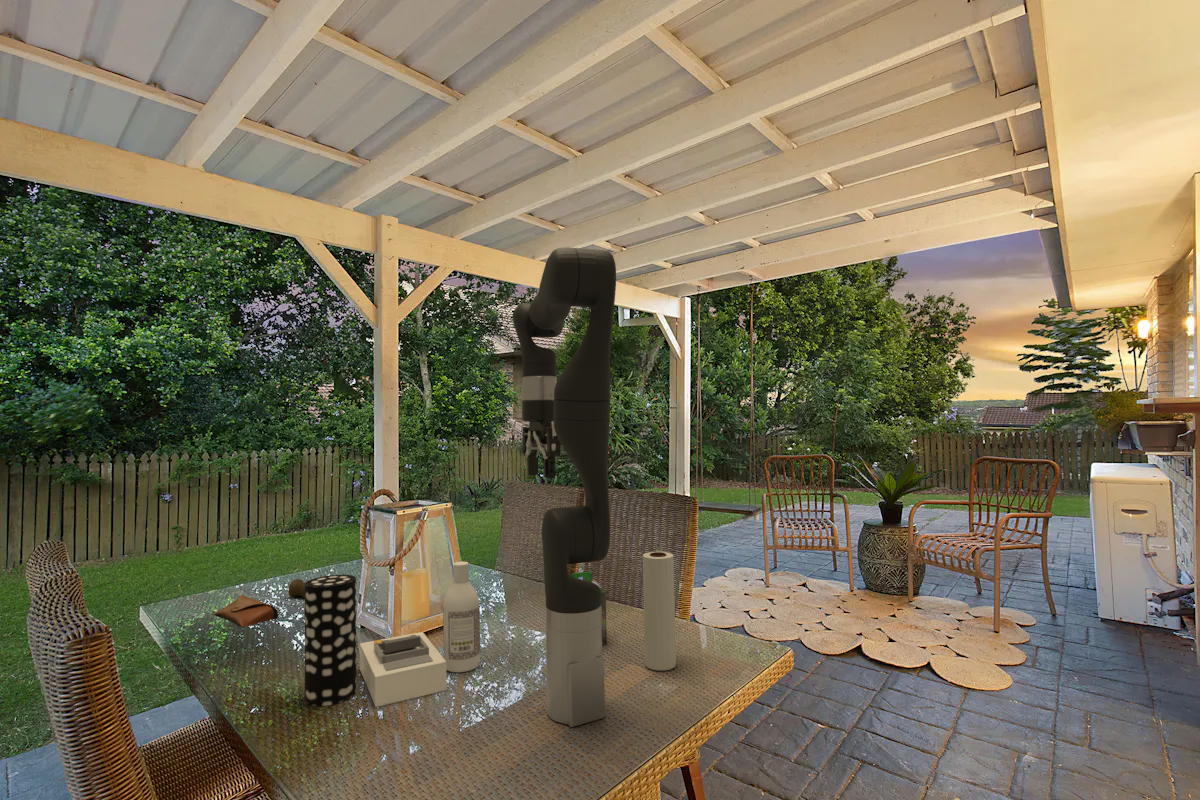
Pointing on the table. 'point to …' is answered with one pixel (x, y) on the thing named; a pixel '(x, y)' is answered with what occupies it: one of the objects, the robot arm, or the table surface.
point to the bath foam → (461, 623)
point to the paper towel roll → (659, 610)
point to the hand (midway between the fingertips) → (541, 476)
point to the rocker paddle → (401, 643)
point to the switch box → (402, 671)
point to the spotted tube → (330, 639)
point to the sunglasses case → (247, 611)
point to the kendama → (297, 588)
